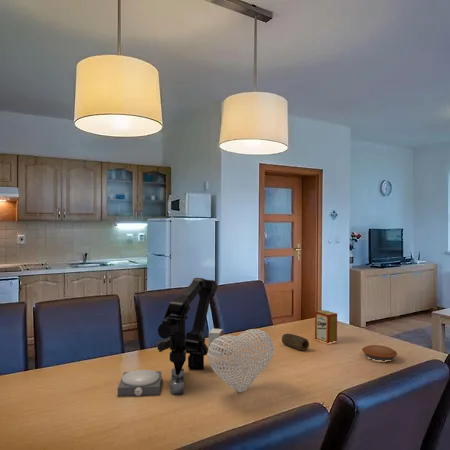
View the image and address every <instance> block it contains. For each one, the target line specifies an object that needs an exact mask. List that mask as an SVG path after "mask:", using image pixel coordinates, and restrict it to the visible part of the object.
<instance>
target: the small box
mask: <svg viewBox="0 0 450 450" xmlns="http://www.w3.org/2000/svg"><path fill="white" fill-rule="evenodd" d="M223 333H224V330H223V329H221V328H211V330H209V332H208V349H209V346H210V344H211V343H212V341H213V340H214V339H216V338H218V337H219V336H224V334H223ZM215 342H216V341H215ZM218 342H219V340H218V341H217V343H218ZM220 343H221V341H220ZM219 345H220V344H219ZM221 345H222V344H221ZM221 345H220V346H221ZM223 345H224V344H223ZM223 345H222V346H223ZM213 346H214V345H213ZM214 347H215V346H214ZM217 347H218V346H217ZM223 347H224V346H223ZM214 349H215V348H213V350H214ZM220 349H221V348H219V349H218V351H219V352H220ZM223 350H224V349H223V348H222V350H221V352H223ZM215 351H217V348H216V350H215ZM209 352H210V350H209ZM210 354H211V353H210ZM215 354H216V352H215ZM218 355H219V353H218ZM219 356H220V355H219Z"/></svg>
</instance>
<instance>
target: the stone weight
mask: <svg viewBox="0 0 450 450" xmlns="http://www.w3.org/2000/svg"><path fill="white" fill-rule="evenodd" d="M281 342H282V344H284V345H285V346H287V347H290V348H293V349H295V350H298V351H302V352H303V351H307V350H308V348H309V346H310V342H309V340H308V339H307V338H305V337H303V336H300V335H296V334H293V333H284V334H283V335H282V336H281Z"/></svg>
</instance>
